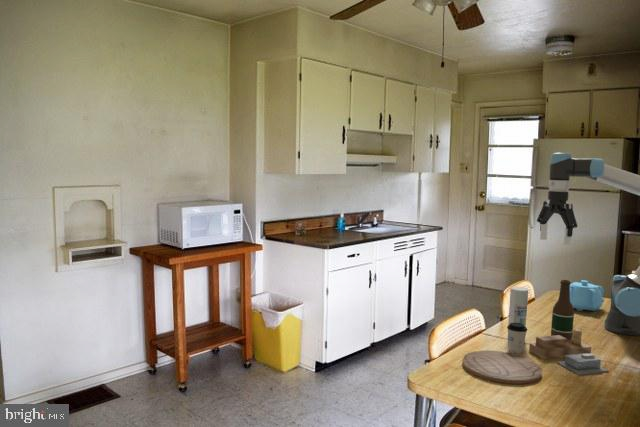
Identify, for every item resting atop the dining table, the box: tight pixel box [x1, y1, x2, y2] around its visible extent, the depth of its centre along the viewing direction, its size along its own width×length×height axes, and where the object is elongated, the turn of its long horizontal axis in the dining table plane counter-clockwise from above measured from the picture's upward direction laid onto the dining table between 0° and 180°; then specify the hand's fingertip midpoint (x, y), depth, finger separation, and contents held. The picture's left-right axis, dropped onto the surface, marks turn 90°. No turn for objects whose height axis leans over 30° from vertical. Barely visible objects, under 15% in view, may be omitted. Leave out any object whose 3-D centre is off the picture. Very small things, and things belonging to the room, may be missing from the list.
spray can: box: [507, 286, 529, 328], centre depth 200 cm, size 6×6×20 cm
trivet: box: [462, 350, 543, 386], centre depth 171 cm, size 25×25×2 cm
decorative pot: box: [570, 279, 605, 312], centre depth 247 cm, size 16×16×14 cm
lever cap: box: [564, 353, 602, 371], centre depth 174 cm, size 9×6×4 cm, turn 105°
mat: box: [556, 360, 609, 376], centre depth 174 cm, size 12×10×1 cm
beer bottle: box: [550, 279, 575, 340], centre depth 199 cm, size 8×8×24 cm
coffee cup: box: [506, 323, 528, 355], centre depth 187 cm, size 7×7×10 cm
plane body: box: [528, 328, 592, 360], centre depth 186 cm, size 20×8×8 cm, turn 105°
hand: (554, 242), depth 212 cm, fingers open, 13 cm apart
